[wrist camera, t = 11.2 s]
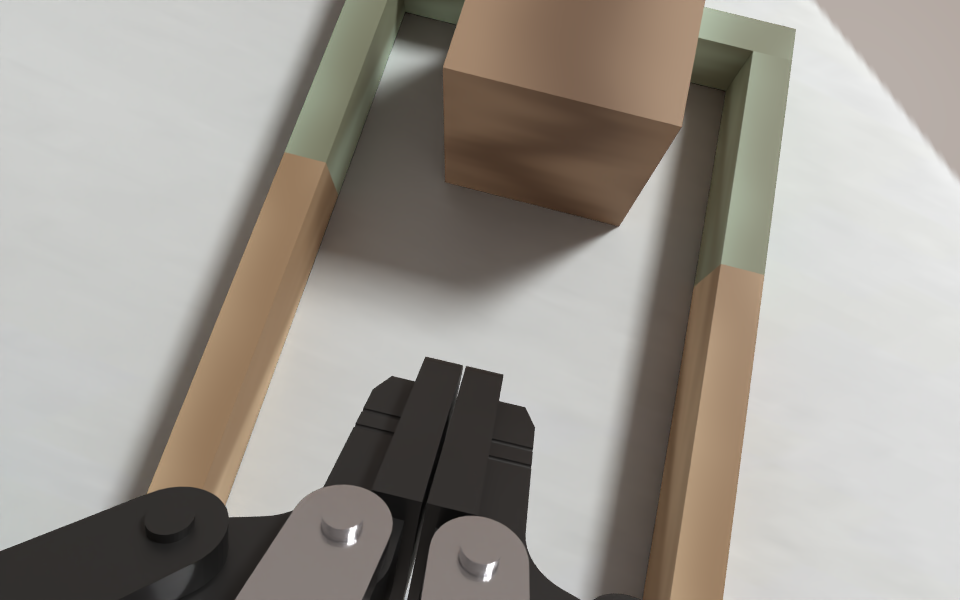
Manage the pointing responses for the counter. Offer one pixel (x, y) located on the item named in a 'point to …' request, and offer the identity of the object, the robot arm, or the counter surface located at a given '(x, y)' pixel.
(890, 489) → the counter surface
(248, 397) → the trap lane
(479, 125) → the walnut block
